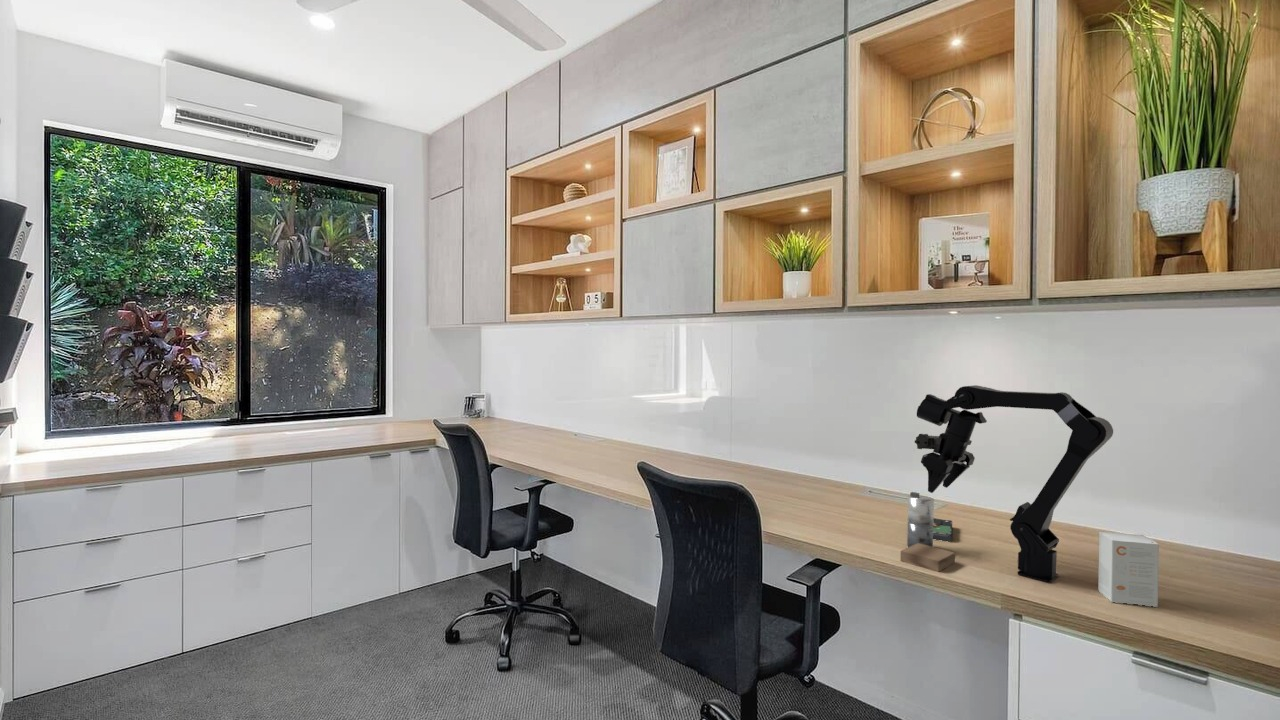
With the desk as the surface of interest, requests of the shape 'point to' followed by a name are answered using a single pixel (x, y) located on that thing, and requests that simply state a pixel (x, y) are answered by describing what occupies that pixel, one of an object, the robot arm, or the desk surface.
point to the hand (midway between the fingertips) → (937, 489)
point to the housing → (920, 520)
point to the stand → (927, 557)
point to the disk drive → (942, 529)
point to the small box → (1128, 568)
